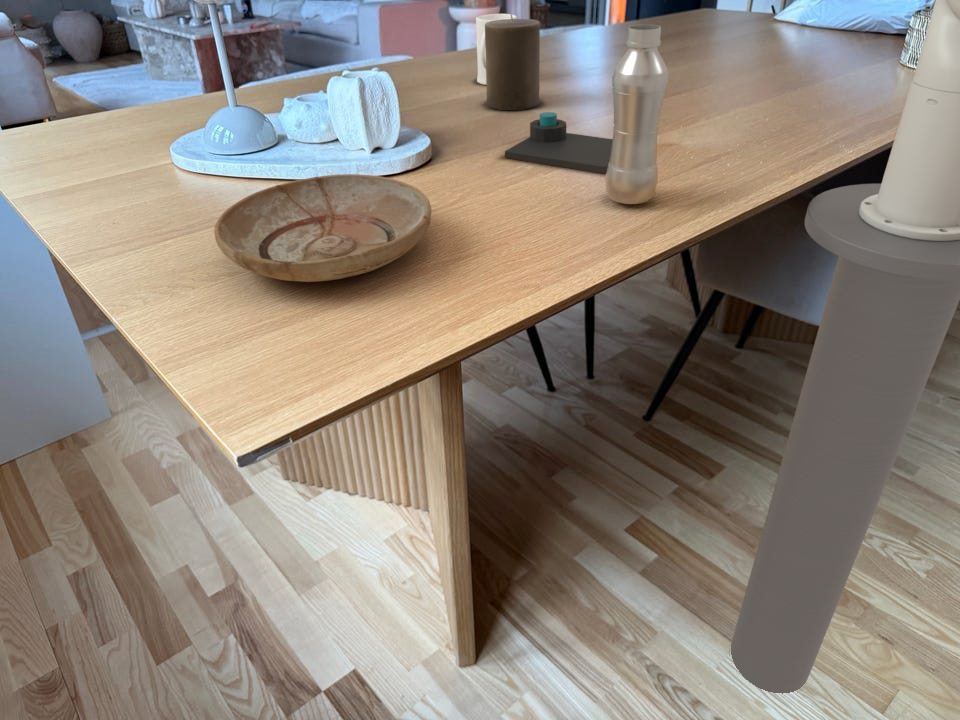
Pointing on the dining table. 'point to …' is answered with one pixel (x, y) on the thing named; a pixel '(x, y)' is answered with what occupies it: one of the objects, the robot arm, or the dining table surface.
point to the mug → (481, 42)
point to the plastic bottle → (636, 117)
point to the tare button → (548, 119)
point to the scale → (563, 148)
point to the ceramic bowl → (324, 227)
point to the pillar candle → (512, 63)
